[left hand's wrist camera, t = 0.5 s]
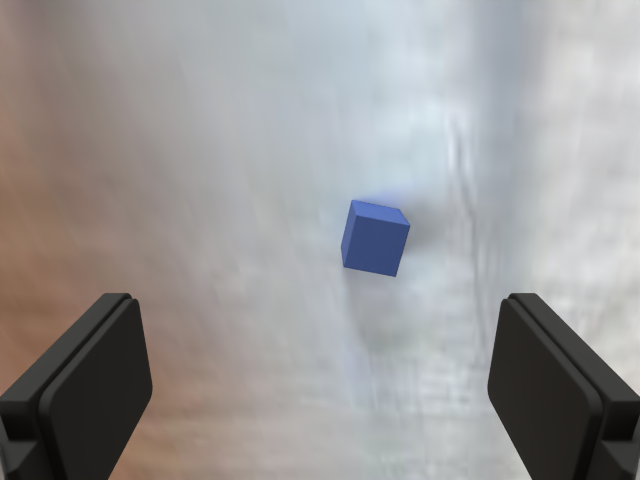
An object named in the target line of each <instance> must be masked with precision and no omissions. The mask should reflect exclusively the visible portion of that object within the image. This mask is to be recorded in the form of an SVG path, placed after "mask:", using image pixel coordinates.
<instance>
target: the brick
mask: <svg viewBox="0 0 640 480" xmlns="http://www.w3.org/2000/svg"><path fill="white" fill-rule="evenodd" d="M409 228H410V225H409V223H408V222H407V220H406V219H405V217H404V216H403V214H402V212H401V211H400V210H399V209H394V208H389V207H384V206H379V205H374V204H369V203H364V202H359V201H354V200H352V201H351V206H350V210H349V214H348V219H347V223H346V227H345V232H344V236H343V240H342V244H341V251H342V259H343V266H344V267H346V268H351V269H356V270H362V271H367V272H372V273H378V274H383V275H388V276H393V277H396V274H397V270H398V267H399V263H400V260H401V256H402V253H403V249H404V245H405V242H406V238H407V235H408V231H409Z"/></svg>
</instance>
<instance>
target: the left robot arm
mask: <svg viewBox="0 0 640 480" xmlns="http://www.w3.org/2000/svg"><path fill="white" fill-rule="evenodd" d="M151 395H152V379H151V373H150V367H149V361H148V355H147V349H146V343H145V337H144V331H143V325H142V319H141V313H140V307H139V302H138V300H137V299H132V297H131V295H130V294H129V293H105V294H103V295H102V296H101V297H100V298H99V299H98V300H97V301H96V302H95V303H94V304H93V305H92V306H91V307H90V308H89V309H88V310H87V311H86V312H85V313H84V314H83V315H82V316H81V317H80V318H79V319H78V320H77V321H76V322H75V323H74V324H73V325H72V326H71V327H70V328H69V329H68V330H67V331H66V332H65V333H64V334H63V335H62V336H61V337H60V338H59V339H58V340H57V341H56V342H55V343H54V344H53V345H52V346H51V347H50V348H49V349H48V350H47V351H46V352H45V353H44V354H43V355H42V356H41V357H40V358H39V359H38V360H37V361H36V362H35V363H34V364H33V365H32V366H31V367H30V368H29V369H28V370H27V371H26V372H25V373H24V374H23V375H22V376H21V377H20V378H19V379H18V380H17V381H16V382H15V383H14V384H13V385H12V386H11V387H10V388H9V389H8V390H7V391H6V392H5V393H4V394H3V395H2V396H1V397H0V480H108V478H109V476H110V475H111V473H112V471H113V469H114V467H115V465H116V463H117V461H118V459H119V458H120V456H121V454H122V452H123V450H124V448H125V446H126V444H127V442H128V441H129V439H130V437H131V435H132V433H133V431H134V429H135V427H136V425H137V424H138V422H139V420H140V418H141V416H142V414H143V412H144V410H145V408H146V407H147V405H148V403H149V401H150V399H151ZM488 395H489V399H490V401H491V403H492V405H493V407H494V408H495V410H496V412H497V414H498V416H499V418H500V420H501V422H502V424H503V425H504V427H505V429H506V431H507V433H508V435H509V437H510V439H511V441H512V442H513V444H514V446H515V448H516V450H517V452H518V454H519V456H520V458H521V459H522V461H523V463H524V465H525V467H526V469H527V471H528V473H529V475H530V476H531V478H532V480H640V397H639V396H638V395H637V394H636V393H635V392H634V391H633V390H632V389H631V388H630V387H629V386H628V385H627V384H626V383H625V382H624V381H623V380H622V379H621V378H620V377H619V376H618V375H617V374H616V373H615V372H614V371H613V370H612V369H611V368H610V367H609V366H608V365H607V364H606V363H605V362H604V361H603V360H602V359H601V358H600V357H599V356H598V355H597V354H596V353H595V352H594V351H593V350H592V349H591V348H590V347H589V346H588V345H587V344H586V343H585V342H584V341H583V340H582V339H581V338H580V337H579V336H578V335H577V334H576V333H575V332H574V331H573V330H572V329H571V328H570V327H569V326H568V325H567V324H566V323H565V322H564V321H563V320H562V319H561V318H560V317H559V316H558V315H557V314H556V313H555V312H554V311H553V310H552V309H551V308H550V307H549V306H548V305H547V304H546V303H545V302H544V301H543V300H542V299H541V298H540V297H539V296H538V295H537V294H535V293H511V294H510V295H509V297H508V299H503V300H502V302H501V307H500V313H499V319H498V325H497V331H496V337H495V343H494V349H493V355H492V361H491V367H490V373H489V379H488Z"/></svg>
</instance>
